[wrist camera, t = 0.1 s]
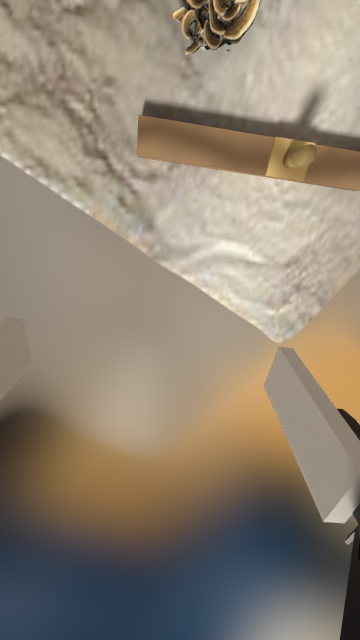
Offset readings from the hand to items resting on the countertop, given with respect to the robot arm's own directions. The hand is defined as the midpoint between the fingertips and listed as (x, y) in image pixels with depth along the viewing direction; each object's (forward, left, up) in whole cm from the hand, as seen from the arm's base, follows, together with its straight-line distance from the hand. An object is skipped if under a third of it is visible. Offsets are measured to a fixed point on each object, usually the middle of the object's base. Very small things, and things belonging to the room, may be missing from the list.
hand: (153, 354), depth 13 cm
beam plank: (-13, +10, -28) cm, 32 cm away
